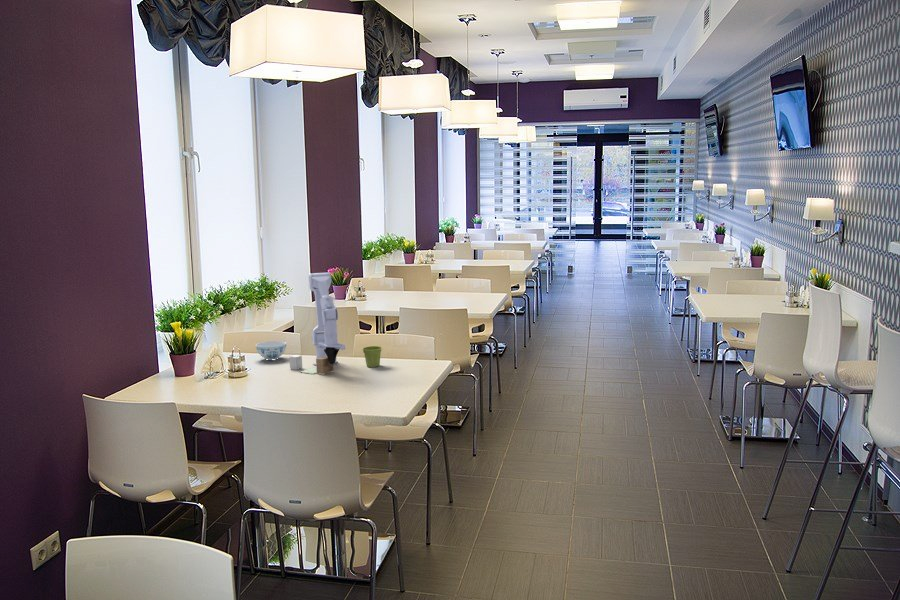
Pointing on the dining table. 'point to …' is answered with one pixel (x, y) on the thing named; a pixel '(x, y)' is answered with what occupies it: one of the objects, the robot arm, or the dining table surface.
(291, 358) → the grey block
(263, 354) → the chinaware
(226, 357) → the dining table surface
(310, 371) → the sage mat
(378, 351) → the plant pot
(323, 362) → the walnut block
